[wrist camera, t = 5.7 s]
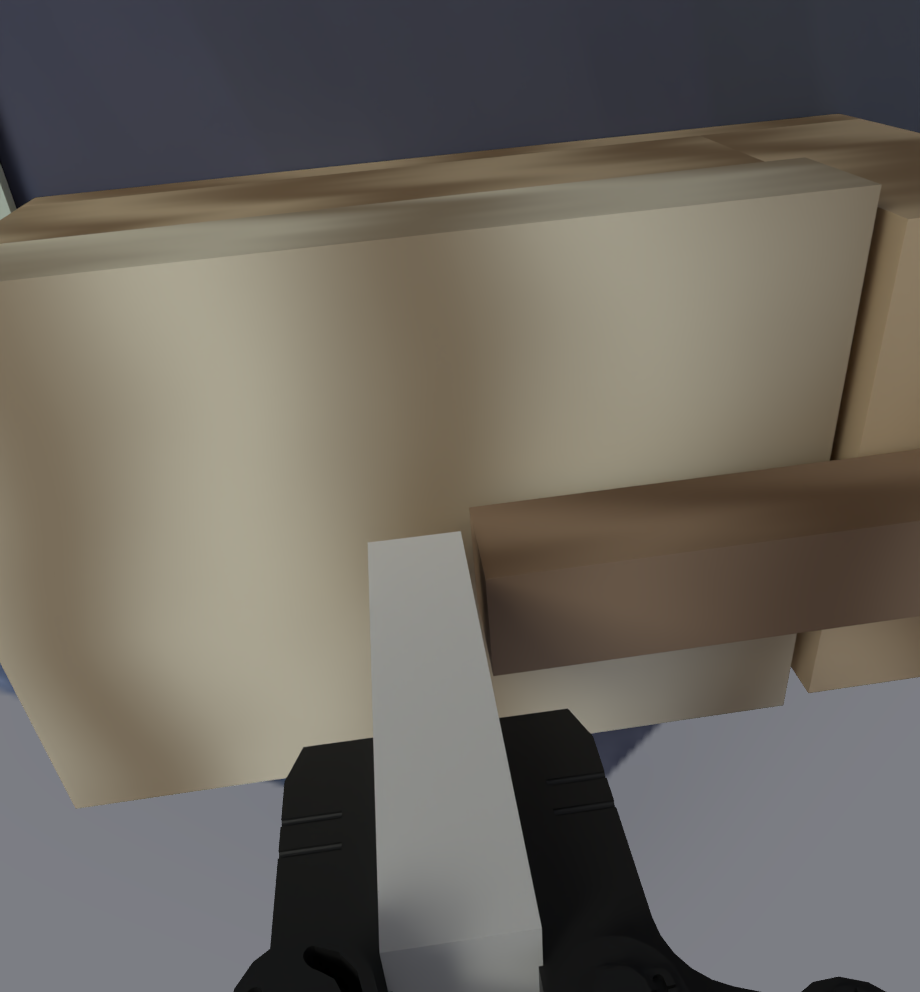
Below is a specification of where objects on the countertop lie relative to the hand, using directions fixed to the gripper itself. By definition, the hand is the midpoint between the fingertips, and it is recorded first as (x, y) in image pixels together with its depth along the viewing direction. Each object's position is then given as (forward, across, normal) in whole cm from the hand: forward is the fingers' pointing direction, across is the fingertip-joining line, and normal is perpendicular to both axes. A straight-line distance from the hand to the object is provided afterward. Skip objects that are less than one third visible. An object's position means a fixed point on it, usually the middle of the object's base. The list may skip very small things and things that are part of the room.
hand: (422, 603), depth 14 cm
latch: (+1, +6, 0) cm, 6 cm away
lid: (+4, 0, 0) cm, 4 cm away
